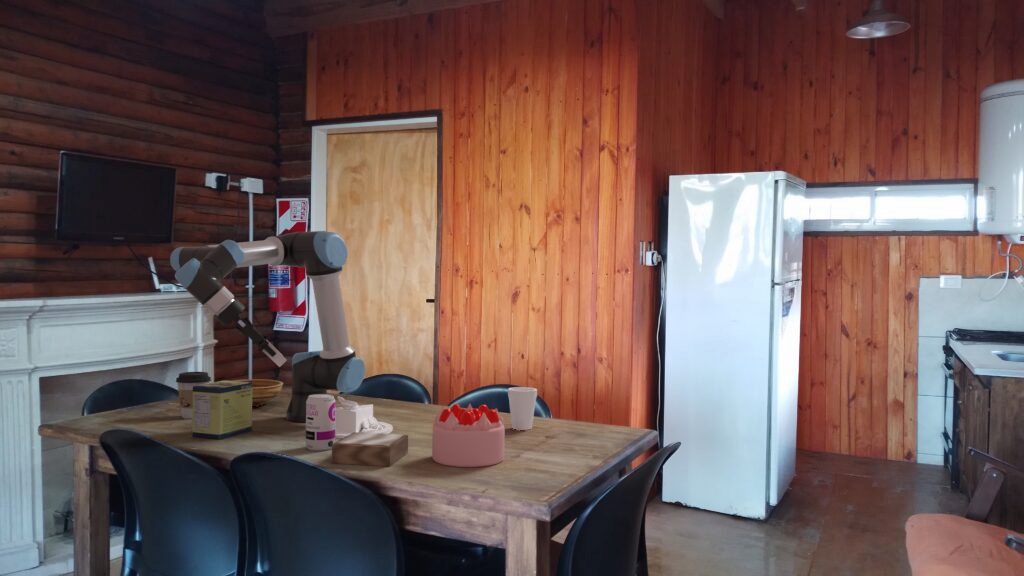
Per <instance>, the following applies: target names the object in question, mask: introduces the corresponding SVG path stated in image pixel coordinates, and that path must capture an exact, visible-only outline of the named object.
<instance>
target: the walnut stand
mask: <svg viewBox="0 0 1024 576" xmlns="http://www.w3.org/2000/svg"><path fill="white" fill-rule="evenodd" d="M408 453H409V435H408V434H394V433H389V434H379V433H359V432H354V433H352V434H350V435H348V436H346V437H344V438H343V439H339V440H337V441H335V443H333V444H332V449H331V464H340V465H342V464H343V465H355V466H357V465H361V466H373V467H374V466H376V467H378V466H379V467H391V466H393V465H394V464H395V463H396V462H398V461H400V460H401V459H402V458H403V457H405V456H406V455H407V454H408Z"/></svg>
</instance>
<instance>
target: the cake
mask: <svg viewBox="0 0 1024 576" xmlns="http://www.w3.org/2000/svg"><path fill="white" fill-rule="evenodd" d="M504 420H505V419H504V417H503V416H502V415H501V414H500V413H499V411H498V408H497V407H496V408H495V409H493V408H491V409H489V408H488V405H486V404H481V405H479V407H478V408H476V407H475V408H473V406H472V405H471V403H469V404H468V406H467V408H466V407H465V408H464V407H462V408H461V406H460V404H457V403H456V404H452V406H451V407H450V409H449V408H445V407H444V406H442V407H441V411H440V412H439V413H438V414H436V416H435V418H434V422H435V423H434V424H433V425H432V441H431V443H432V447H431V448H432V450H431V452H432V453H431V455H432V456H431V457H432V460H433V461H434V462H435V463H437V464H439V465H444V466H449V467H458V468H479V467H488V466H493V465H496V464H500V463H502V462H503V460H504V458H505V430H506V429H505V425H504V423H505V422H504Z"/></svg>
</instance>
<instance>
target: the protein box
mask: <svg viewBox="0 0 1024 576" xmlns="http://www.w3.org/2000/svg"><path fill="white" fill-rule="evenodd" d="M252 383H253V382H243V381H233V380H230V379H228V380H227V379H225V380H224V379H223V380H220V381H215V382H209V383H208V384H202V385H196V386H193V419H192V420H191V421H192V427H191V429H192V433H191V434H192V435H191V436H192V437H193V438H201V439H210V440H211V439H212V440H223V439H226V438H229V437H234V436H237V435H240V434H245V433H248V432H252V431H253V407H252Z"/></svg>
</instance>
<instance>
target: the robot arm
mask: <svg viewBox="0 0 1024 576" xmlns="http://www.w3.org/2000/svg"><path fill="white" fill-rule="evenodd" d="M347 258H348V247H347V244H346V242H345V240H344V239H343V237H341V236H340V235H339V233H336V232H335V231H334V232H333V231H327V230H317V231H316V230H314V231H313V230H312V231H296V232H295V231H294V232H291V233H285V234H281V235H279V234H278V235H275V236H268V237H267V238H265V239H264V240H263V239H262V240H254V241H243V242H241V241H240V242H236V241H235V240H231V239H225V240H224V241H222V242H221V243H219V244H208V245H201V246H181V247H176V248H175V249H174V250H173V251H172V253H171V254H170V258H169V259H170V260H169V261H170V266H171V267H172V269H173V270H174V271H175V274H174V277H175V280H176V281H177V282H178V283H179V284H180V285H181V286H182V287H183V289H184V290H186V291H187V292H188V293H189V294H190V295H191V296H192V297H193V298H195V299H196V301H198V302H199V303H200V304H201V306H203V307H205V308H204V311H205V312H208V311H209V313H210V314H211V315H212V316H215V315H216V316H215V318H216V319H217V321H218V322H219V323H220V324H221V325H223V326H224V327H227V326H229V325H231V323H233V322H234V324H235V329H236V330H238V331H239V332H240V333H242V334H243V335H244V336H245V337H246V338H247V337H248V338H249V339H250V340H251V341H252V342H253V343H254V344H255V345H257V347H258V349H257V351H259V353H261V352H263V353H264V355H266V356H267V357H268V358H270V360H272V362H274V363H275V365H277V366H278V367H279V368H280V367H281V366H283V365H284V364H285V363H286V362H287V361H288V359H286V357H284V354H282V353H281V352H280V351H279V350H278V349H277V348H276V347H275V345H273V344H272V343H271V342H270V341H269V340H268V336H267V335H266V334H265V335H262V334H261V333H260V332H259V331H258V330H257V329H256V327H255V325H254V324H253V323H252V321H251V320H250V319H249V318H248V317H247V316H245V318H244V316H243V315H241V314H242V313H243V312H244V311H245V309H246V306H245V305H244V304H243V303H242V302H241V301H240V300H239V299H238V298H235V295H234V294H233V293H232V292H231V291H230V290H229V289H228V288H227V287H226V286H224V285H223V284H222V280H223V279H224V278H226V277H227V276H228V275H229V274H230V273H231V272H232V271H233V270H235V269H237V268H244V267H245V268H246V267H253V266H254V267H255V266H261V265H269V266H272V267H277V266H278V267H280V266H283V267H285V266H286V267H295V268H296V267H297V268H304V269H305V275H306V277H308V278H309V279H310V280H311V282H312V289H313V294H314V299H315V300H314V301H315V306H316V312H317V313H316V314H317V318H318V324H319V331H320V332H319V333H320V337H321V345H322V350H316V351H314V350H313V351H305V352H297V353H295V354H294V355H292V360H291V361H292V363H291V398H290V401H289V404H288V406H287V410H286V413H285V414H286V415H285V417H286V421H290V422H296V423H297V422H298V423H306V401H307V399H308V397H309V396H310V395H315V394H328V391H332V392H333V391H335V392H340V393H344V392H347V393H351V392H354V391H356V390H357V389H358V388H360V386H361V384H362V382H363V381H364V379H365V374H366V365H365V361H364V360H362V358H361V357H358V356H356V350H355V347H353V345H352V346H351V345H350V340H349V335H348V329H347V321H346V315H345V309H344V302H343V296H342V290H341V289H342V288H341V283H340V282H341V281H340V275H341V273H342V272H343V266H344V265H345V264H346V262H347Z"/></svg>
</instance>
